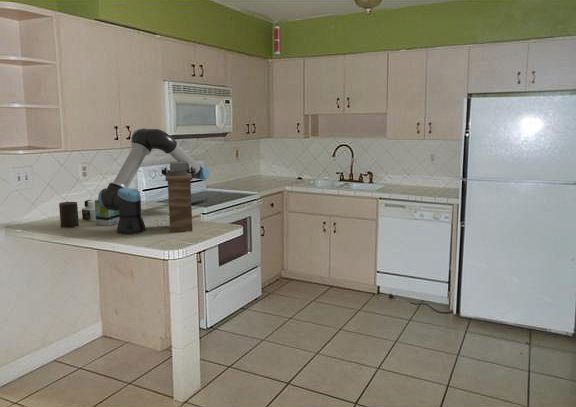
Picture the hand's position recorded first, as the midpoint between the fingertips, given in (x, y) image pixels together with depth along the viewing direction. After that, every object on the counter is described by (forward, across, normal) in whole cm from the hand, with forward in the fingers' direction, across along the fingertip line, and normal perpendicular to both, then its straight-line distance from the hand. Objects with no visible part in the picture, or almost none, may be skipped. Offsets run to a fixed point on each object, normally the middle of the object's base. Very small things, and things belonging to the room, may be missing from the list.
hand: (178, 165), depth 293 cm
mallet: (+5, 0, -7) cm, 8 cm away
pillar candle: (-18, +63, -28) cm, 71 cm away
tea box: (-21, +41, -27) cm, 53 cm away
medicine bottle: (-31, +54, -20) cm, 66 cm away
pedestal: (0, 0, -39) cm, 39 cm away
